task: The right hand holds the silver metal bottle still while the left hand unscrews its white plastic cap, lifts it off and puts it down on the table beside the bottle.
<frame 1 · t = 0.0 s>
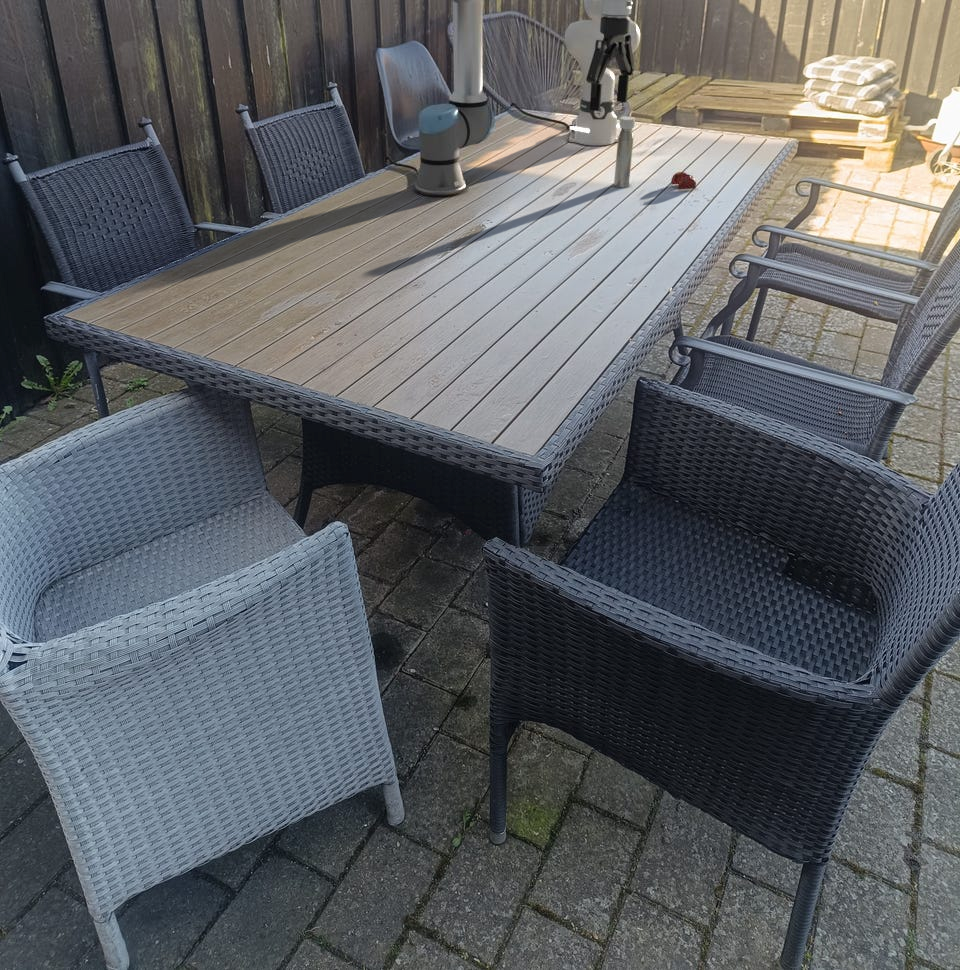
left hand: (608, 106, 226), 28 cm above the table, tool pointing down, fingers open, 13 cm apart
bottle: (621, 185, 262), on the table
dental model: (682, 187, 261), on the table
cap: (627, 119, 251), point 19 cm above the table, screwed on, not yet turned
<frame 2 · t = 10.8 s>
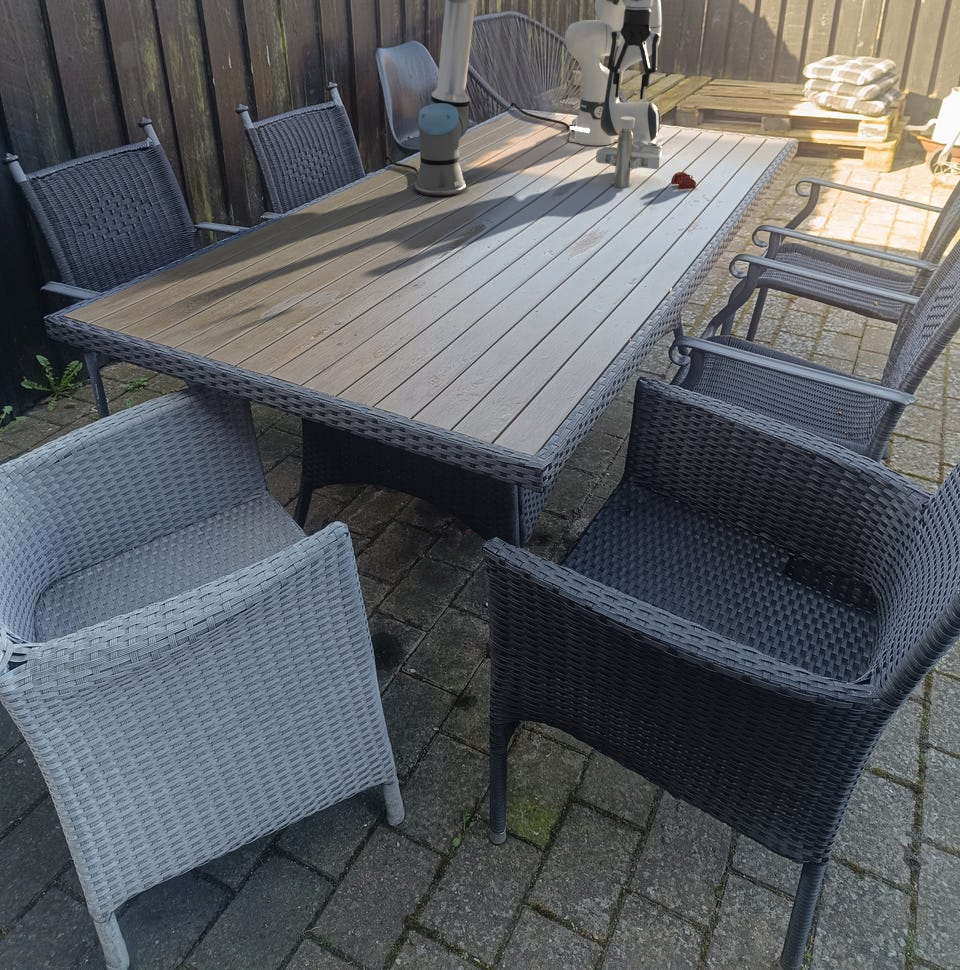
left hand: (629, 97, 247), 25 cm above the table, tool pointing down, fingers open, 7 cm apart
right hand: (622, 164, 258), 7 cm above the table, tool horizontal, fingers closed on bottle, 4 cm apart
bottle: (621, 185, 262), on the table, touching right hand
everything else where it was.
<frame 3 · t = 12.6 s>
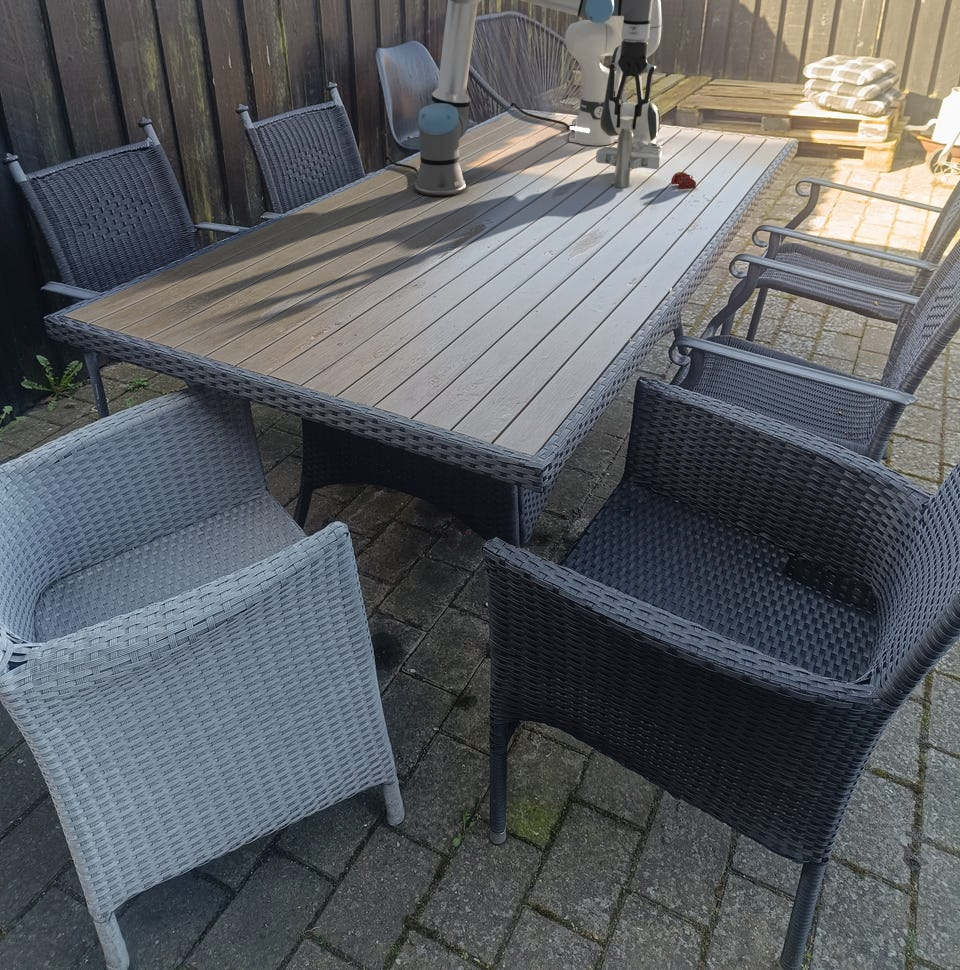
left hand: (626, 127, 252), 17 cm above the table, tool pointing down, fingers closed on cap, 4 cm apart
right hand: (622, 164, 258), 7 cm above the table, tool horizontal, fingers closed on bottle, 4 cm apart
bottle: (621, 185, 262), on the table, touching right hand
cap: (627, 119, 251), point 19 cm above the table, screwed on, not yet turned, touching left hand
everything else where it was.
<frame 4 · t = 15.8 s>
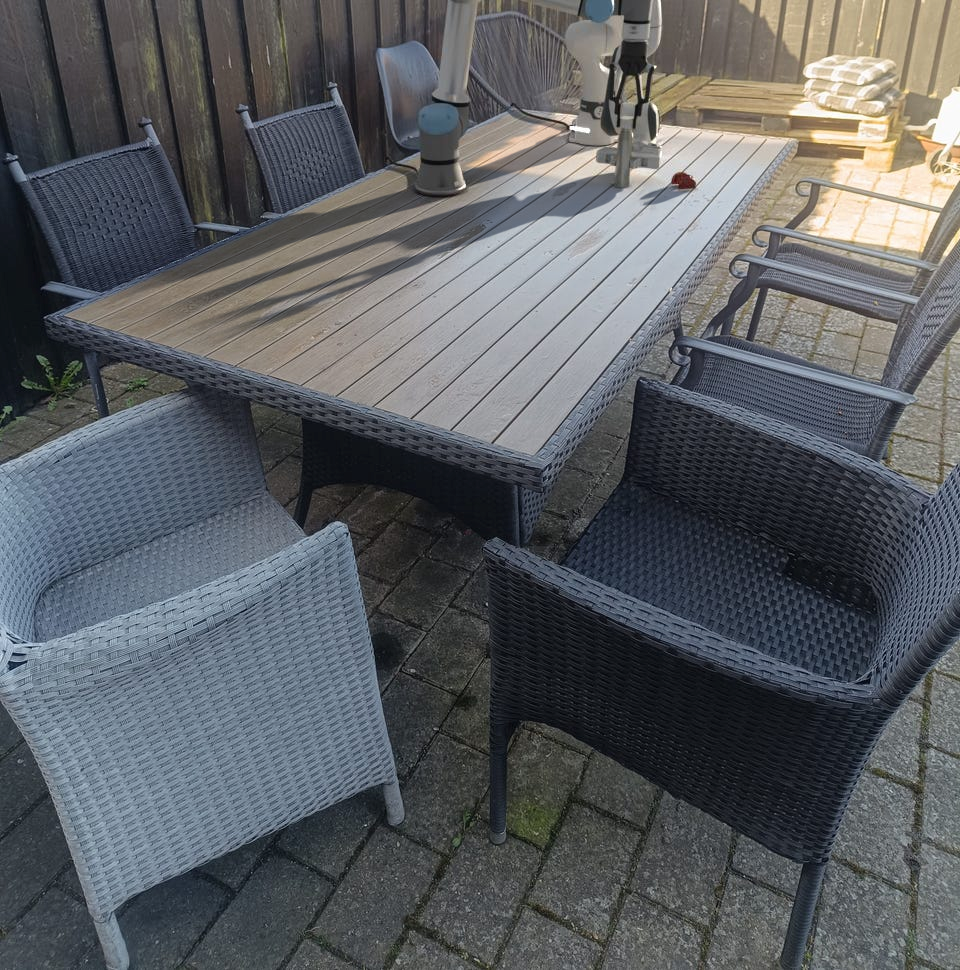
left hand: (626, 126, 252), 17 cm above the table, tool pointing down, fingers closed on cap, 4 cm apart
right hand: (622, 164, 258), 7 cm above the table, tool horizontal, fingers closed on bottle, 4 cm apart
bottle: (621, 185, 262), on the table, touching right hand
cap: (627, 118, 251), point 19 cm above the table, turned 91° so far, risen 0.1 cm, still on its thread, touching left hand
everything else where it was.
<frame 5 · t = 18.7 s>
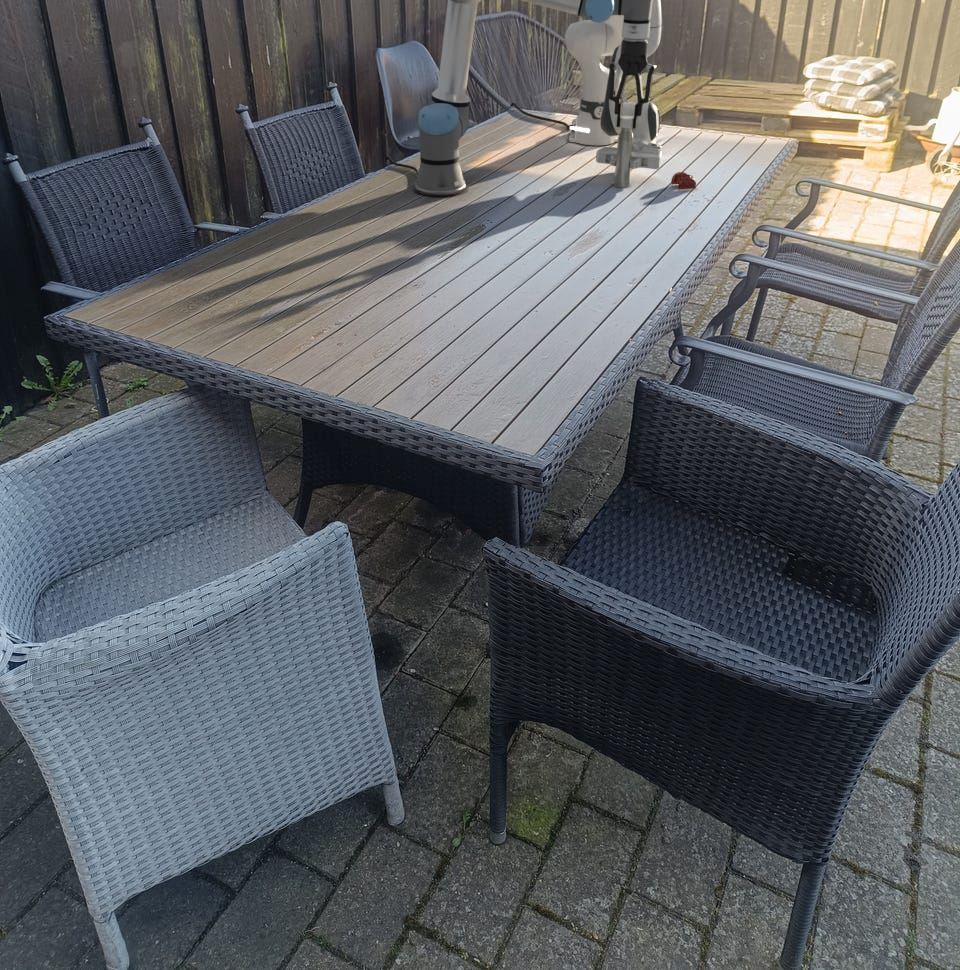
left hand: (626, 126, 252), 17 cm above the table, tool pointing down, fingers closed on cap, 4 cm apart
right hand: (622, 164, 258), 7 cm above the table, tool horizontal, fingers closed on bottle, 4 cm apart
bottle: (621, 185, 262), on the table, touching right hand
cap: (627, 118, 251), point 20 cm above the table, turned 181° so far, risen 0.2 cm, still on its thread, touching left hand
everything else where it was.
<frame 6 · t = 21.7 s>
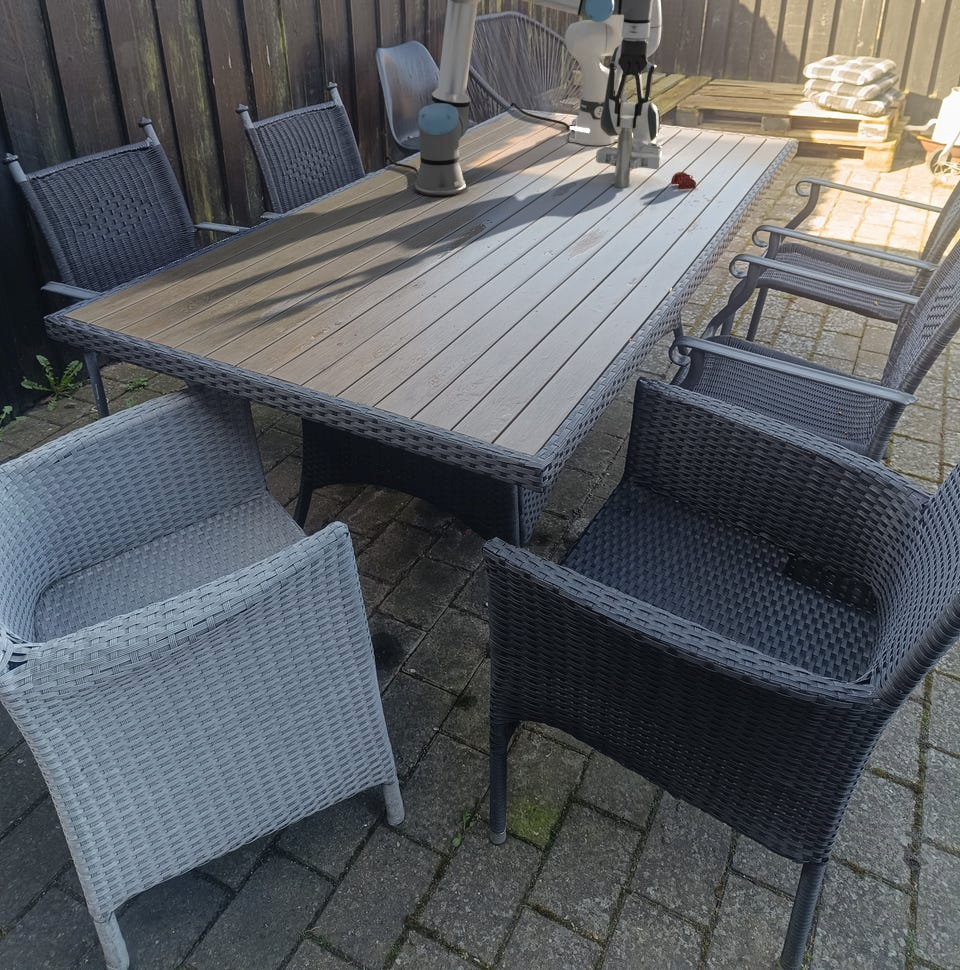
left hand: (626, 126, 252), 17 cm above the table, tool pointing down, fingers closed on cap, 4 cm apart
right hand: (622, 164, 258), 7 cm above the table, tool horizontal, fingers closed on bottle, 4 cm apart
bottle: (621, 185, 262), on the table, touching right hand
cap: (627, 118, 251), point 20 cm above the table, turned 272° so far, risen 0.3 cm, still on its thread, touching left hand
everything else where it was.
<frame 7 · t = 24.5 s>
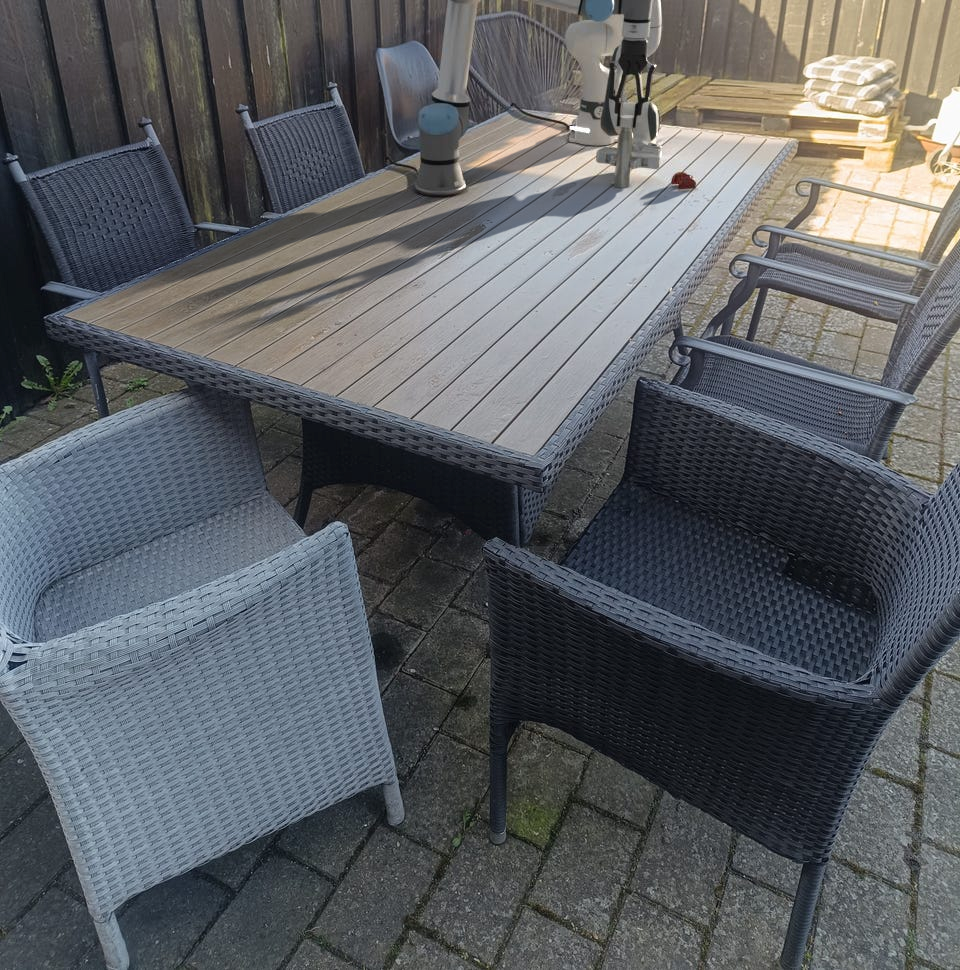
left hand: (626, 125, 252), 17 cm above the table, tool pointing down, fingers closed on cap, 4 cm apart
right hand: (622, 164, 258), 7 cm above the table, tool horizontal, fingers closed on bottle, 4 cm apart
bottle: (621, 185, 262), on the table, touching right hand
cap: (627, 117, 251), point 20 cm above the table, turned 362° so far, risen 0.4 cm, still on its thread, touching left hand
everything else where it was.
when the left hand's fingers open (1 cm above the table, at t = 30.8 s): cap drops 1 cm, point 2 cm above the table.
when the right hand's fingers open (7 cm above the table, at t = 32.1 s): bottle stays where it is, on the table.
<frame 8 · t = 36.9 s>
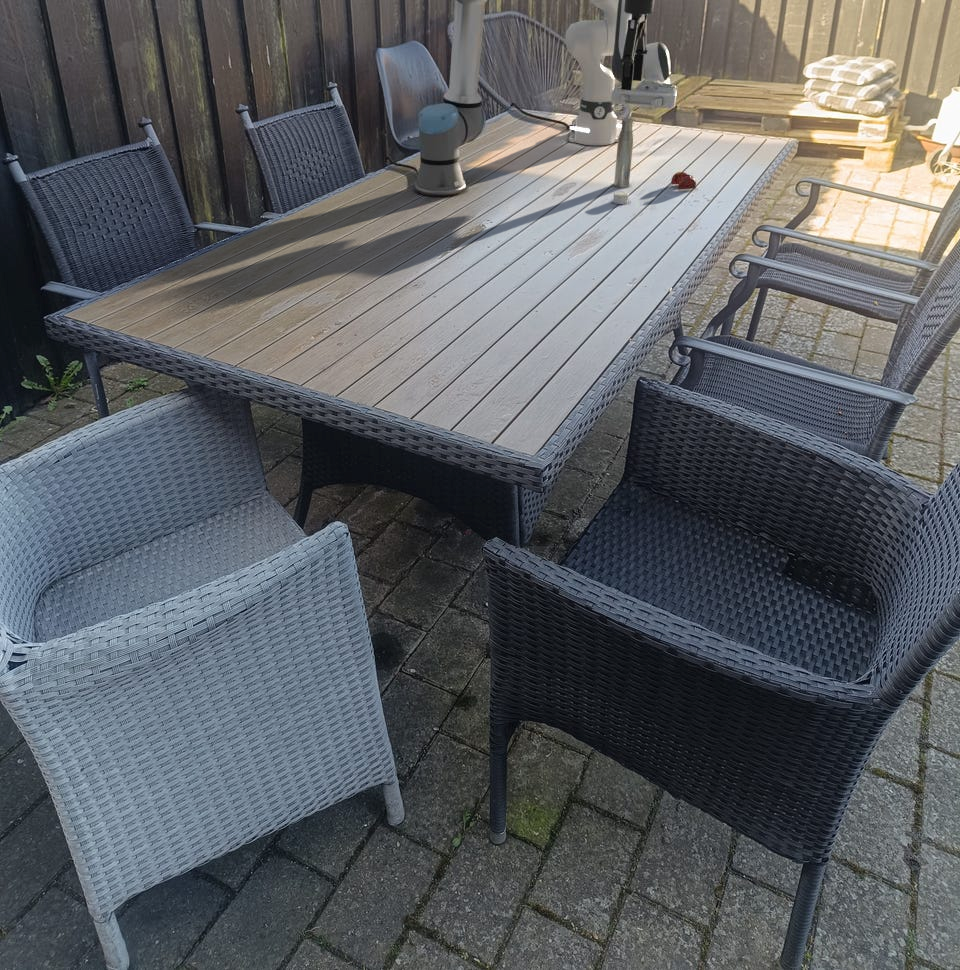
left hand: (631, 85, 230), 32 cm above the table, tool pointing down, fingers open, 13 cm apart
right hand: (638, 102, 258), 22 cm above the table, tool horizontal, fingers open, 8 cm apart
bottle: (621, 185, 262), on the table
cap: (621, 194, 247), point 2 cm above the table, off its thread
everything else where it was.
at the end: cap came off its thread; cap point 2.3 cm above the table; the left hand is holding nothing; the right hand is holding nothing; bottle tilted 0°; bottle moved 0.0 cm from its start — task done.
